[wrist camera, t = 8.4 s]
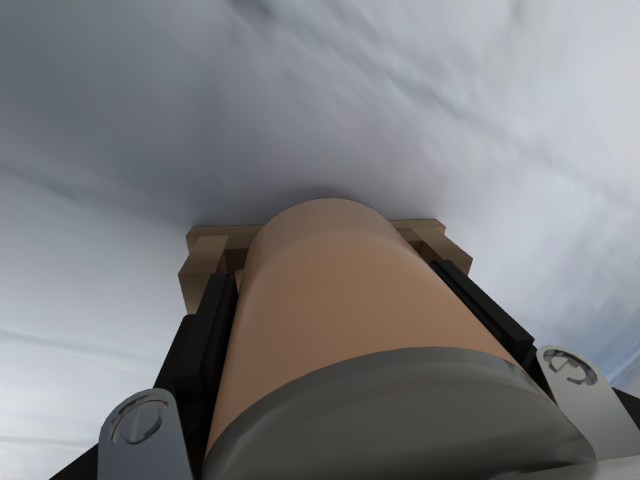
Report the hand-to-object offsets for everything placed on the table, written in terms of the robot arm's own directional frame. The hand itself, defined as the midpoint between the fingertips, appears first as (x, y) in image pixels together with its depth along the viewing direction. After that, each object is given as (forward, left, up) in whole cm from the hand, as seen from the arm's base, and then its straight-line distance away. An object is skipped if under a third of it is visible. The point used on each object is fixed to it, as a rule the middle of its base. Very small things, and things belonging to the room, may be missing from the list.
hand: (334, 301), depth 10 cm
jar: (0, 0, -2) cm, 2 cm away
